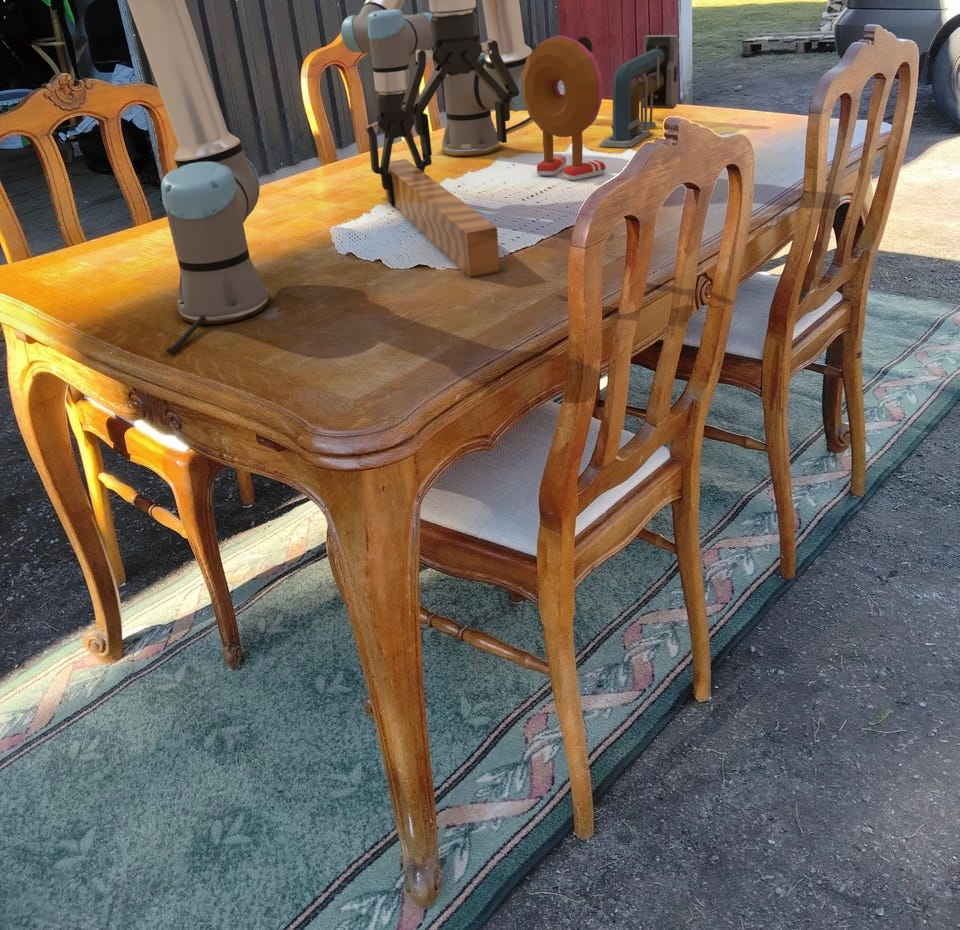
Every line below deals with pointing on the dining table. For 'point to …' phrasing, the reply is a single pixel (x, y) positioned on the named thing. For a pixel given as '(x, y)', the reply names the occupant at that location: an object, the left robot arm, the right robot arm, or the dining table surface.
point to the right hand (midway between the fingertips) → (405, 201)
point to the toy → (563, 100)
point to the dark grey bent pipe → (643, 90)
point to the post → (445, 219)
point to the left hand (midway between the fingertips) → (465, 147)
